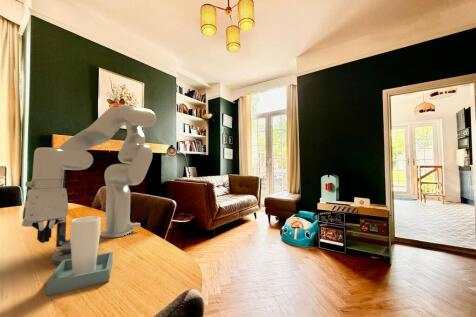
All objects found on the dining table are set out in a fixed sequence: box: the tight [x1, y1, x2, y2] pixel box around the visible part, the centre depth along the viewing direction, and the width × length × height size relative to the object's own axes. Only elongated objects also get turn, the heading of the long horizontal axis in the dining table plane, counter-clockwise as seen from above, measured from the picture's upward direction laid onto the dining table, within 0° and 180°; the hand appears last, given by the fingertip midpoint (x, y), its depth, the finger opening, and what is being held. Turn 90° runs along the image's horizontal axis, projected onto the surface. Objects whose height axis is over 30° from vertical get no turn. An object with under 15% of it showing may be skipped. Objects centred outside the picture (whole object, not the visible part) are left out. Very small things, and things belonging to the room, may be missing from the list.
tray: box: [45, 251, 114, 297], centre depth 55 cm, size 12×12×3 cm
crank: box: [55, 218, 71, 254], centre depth 67 cm, size 11×5×9 cm, turn 64°
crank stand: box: [51, 249, 72, 267], centre depth 68 cm, size 16×9×3 cm, turn 38°
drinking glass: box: [69, 215, 102, 276], centre depth 55 cm, size 7×7×15 cm
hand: (43, 241), depth 65 cm, fingers closed
